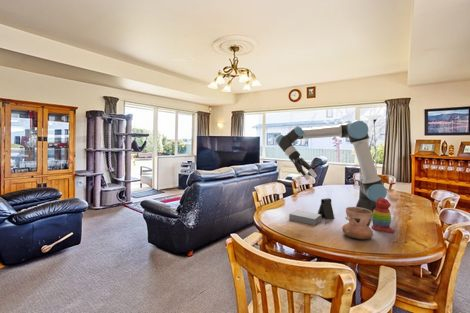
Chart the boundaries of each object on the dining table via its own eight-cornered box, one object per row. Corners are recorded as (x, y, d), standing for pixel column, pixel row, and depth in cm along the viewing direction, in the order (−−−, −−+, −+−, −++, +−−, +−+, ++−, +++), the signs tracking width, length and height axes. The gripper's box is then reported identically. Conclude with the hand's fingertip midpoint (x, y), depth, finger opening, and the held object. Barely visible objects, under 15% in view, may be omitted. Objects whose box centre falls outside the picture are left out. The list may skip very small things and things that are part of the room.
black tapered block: (334, 218, 162) (335, 200, 161) (327, 219, 160) (328, 200, 159) (324, 214, 170) (324, 196, 169) (317, 215, 168) (317, 197, 167)
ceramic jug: (356, 244, 123) (358, 215, 122) (334, 233, 136) (335, 207, 135) (382, 239, 130) (384, 212, 129) (358, 229, 143) (360, 204, 142)
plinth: (321, 220, 159) (321, 214, 158) (314, 225, 149) (314, 219, 149) (297, 214, 168) (297, 209, 168) (289, 219, 159) (289, 213, 159)
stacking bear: (395, 233, 138) (397, 201, 136) (374, 231, 140) (376, 200, 138) (387, 226, 148) (389, 196, 147) (368, 225, 150) (370, 195, 149)
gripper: (295, 156, 188) (314, 179, 180) (280, 158, 168) (301, 183, 160) (303, 149, 184) (322, 173, 177) (288, 150, 164) (309, 176, 157)
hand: (312, 178), depth 169 cm, fingers open, 13 cm apart
